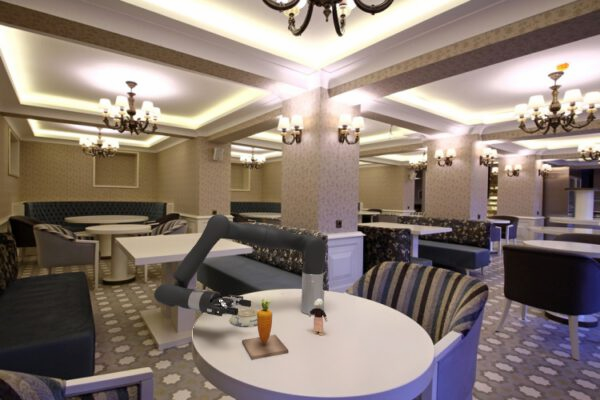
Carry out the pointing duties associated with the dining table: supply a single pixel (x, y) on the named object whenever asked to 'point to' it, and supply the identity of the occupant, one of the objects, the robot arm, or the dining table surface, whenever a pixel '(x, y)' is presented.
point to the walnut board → (264, 347)
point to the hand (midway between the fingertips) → (244, 307)
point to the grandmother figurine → (318, 317)
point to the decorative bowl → (244, 318)
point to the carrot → (264, 322)
